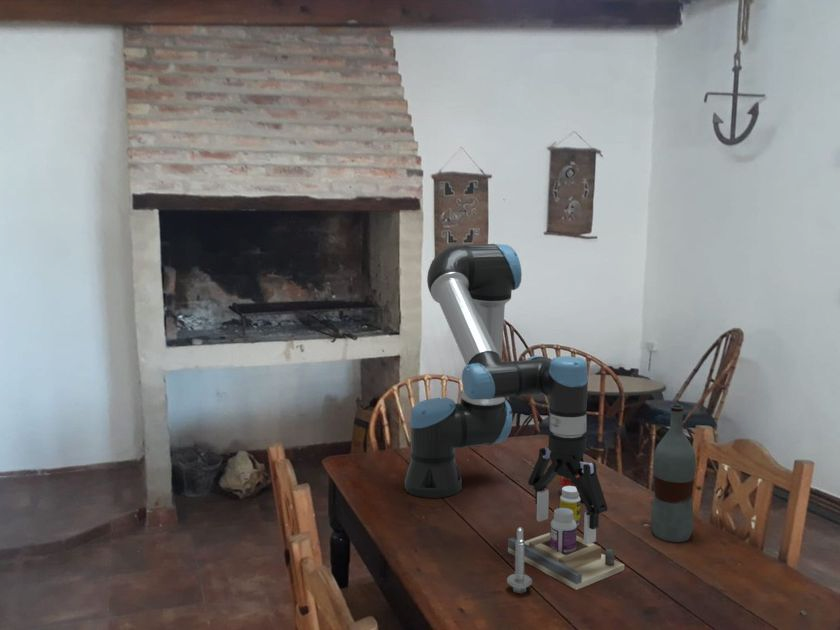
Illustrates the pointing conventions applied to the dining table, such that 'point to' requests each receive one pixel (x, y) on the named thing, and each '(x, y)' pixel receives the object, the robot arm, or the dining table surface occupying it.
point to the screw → (519, 566)
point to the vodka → (673, 483)
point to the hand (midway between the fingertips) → (565, 530)
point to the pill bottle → (563, 531)
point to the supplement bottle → (571, 501)
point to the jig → (569, 561)
